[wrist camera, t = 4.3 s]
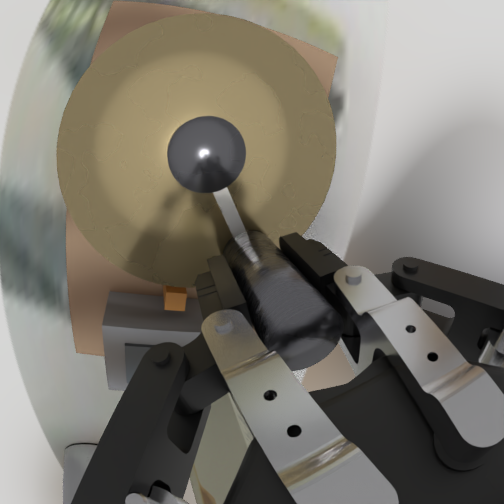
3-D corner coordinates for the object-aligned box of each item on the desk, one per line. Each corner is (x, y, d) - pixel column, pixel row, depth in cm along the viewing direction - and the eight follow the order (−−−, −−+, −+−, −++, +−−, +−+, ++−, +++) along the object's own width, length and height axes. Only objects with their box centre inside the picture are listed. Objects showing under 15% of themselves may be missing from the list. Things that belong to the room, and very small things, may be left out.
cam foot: (339, 210, 16) (446, 274, 9) (147, 305, 15) (154, 434, 8) (267, 3, 10) (364, -72, 3) (35, 103, 9) (-76, 98, 2)
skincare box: (168, 381, 20) (198, 530, 9) (219, 363, 21) (274, 512, 10) (200, 418, 23) (235, 535, 12) (243, 403, 24) (292, 519, 13)
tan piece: (245, 347, 21) (265, 394, 16) (79, 337, 16) (68, 389, 12) (324, 61, 14) (375, 48, 10) (117, 11, 9) (103, -28, 5)
